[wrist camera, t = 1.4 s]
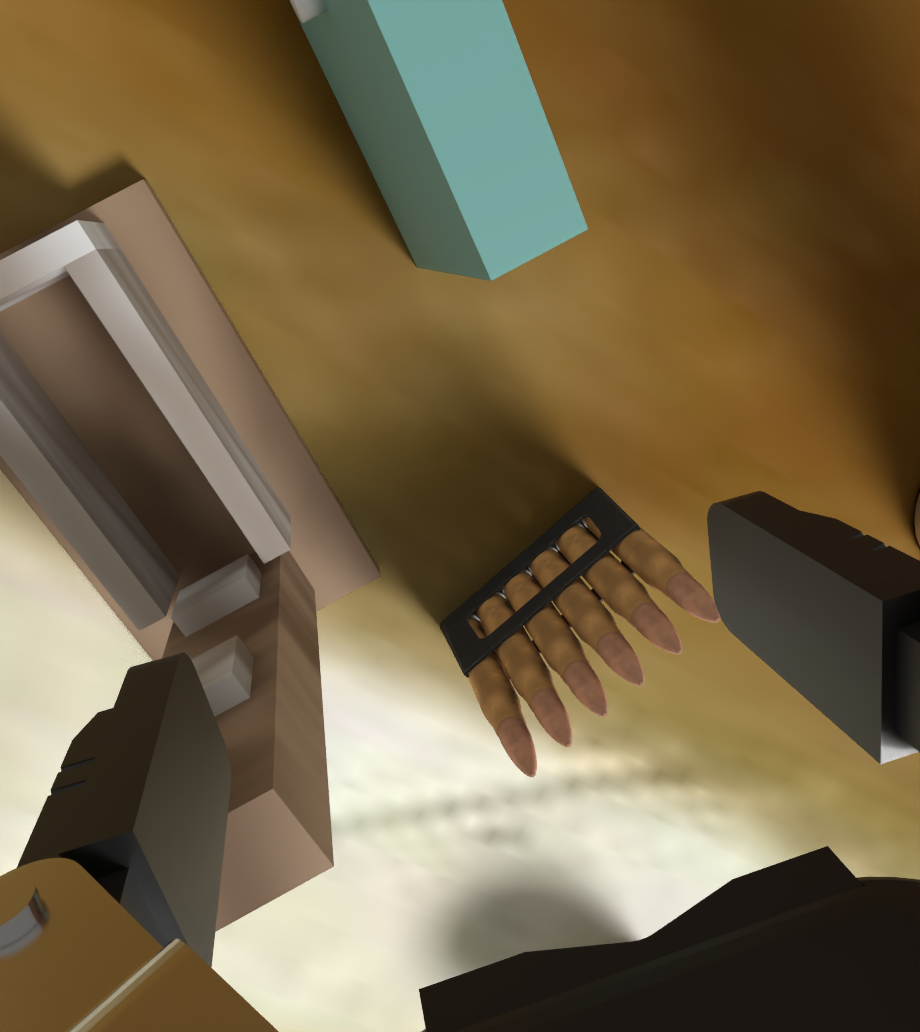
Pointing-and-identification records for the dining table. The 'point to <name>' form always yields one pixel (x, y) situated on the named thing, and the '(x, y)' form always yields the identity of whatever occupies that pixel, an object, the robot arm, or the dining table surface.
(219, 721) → the hinge frame
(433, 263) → the teal door
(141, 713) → the robot arm
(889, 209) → the dining table surface
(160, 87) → the dining table surface
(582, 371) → the dining table surface
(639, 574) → the ammunition clip
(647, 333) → the dining table surface
